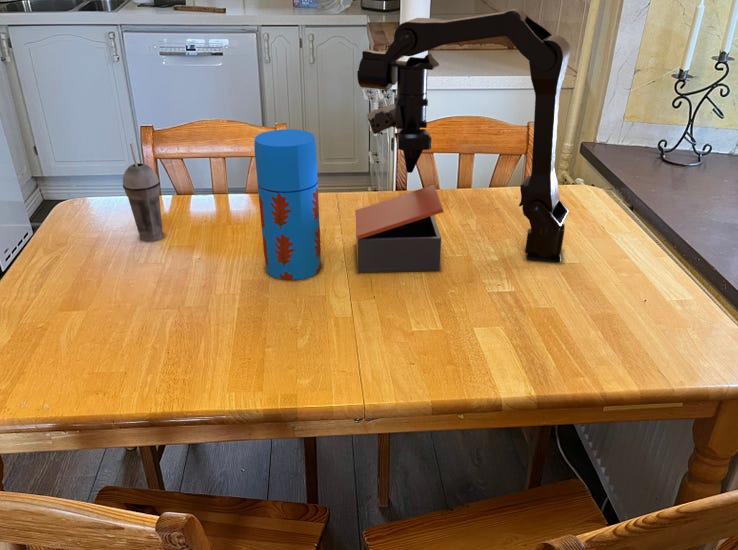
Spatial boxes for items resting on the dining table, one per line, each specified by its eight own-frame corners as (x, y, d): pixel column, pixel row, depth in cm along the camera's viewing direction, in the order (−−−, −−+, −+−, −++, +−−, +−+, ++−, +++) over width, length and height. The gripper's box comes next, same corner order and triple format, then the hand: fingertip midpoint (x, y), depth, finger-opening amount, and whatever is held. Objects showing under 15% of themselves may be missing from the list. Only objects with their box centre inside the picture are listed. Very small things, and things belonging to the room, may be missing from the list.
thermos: (312, 283, 128) (305, 148, 114) (257, 277, 130) (244, 144, 116) (327, 258, 137) (322, 130, 123) (275, 253, 138) (265, 127, 124)
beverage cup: (173, 230, 148) (157, 137, 137) (162, 244, 142) (144, 148, 131) (141, 229, 149) (122, 136, 138) (128, 243, 143) (107, 147, 132)
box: (431, 243, 142) (433, 212, 138) (439, 271, 132) (441, 238, 128) (356, 245, 142) (355, 214, 138) (358, 272, 131) (357, 240, 127)
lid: (435, 188, 136) (434, 184, 135) (443, 212, 125) (442, 208, 125) (356, 213, 138) (355, 210, 137) (358, 239, 127) (357, 235, 127)
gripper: (367, 81, 139) (368, 158, 148) (372, 104, 124) (372, 188, 132) (422, 81, 139) (419, 157, 148) (433, 103, 124) (429, 187, 133)
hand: (409, 172), depth 140 cm, fingers closed
